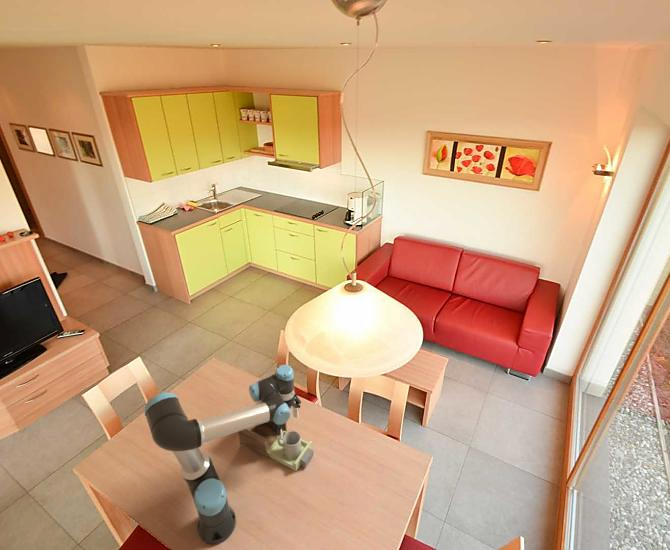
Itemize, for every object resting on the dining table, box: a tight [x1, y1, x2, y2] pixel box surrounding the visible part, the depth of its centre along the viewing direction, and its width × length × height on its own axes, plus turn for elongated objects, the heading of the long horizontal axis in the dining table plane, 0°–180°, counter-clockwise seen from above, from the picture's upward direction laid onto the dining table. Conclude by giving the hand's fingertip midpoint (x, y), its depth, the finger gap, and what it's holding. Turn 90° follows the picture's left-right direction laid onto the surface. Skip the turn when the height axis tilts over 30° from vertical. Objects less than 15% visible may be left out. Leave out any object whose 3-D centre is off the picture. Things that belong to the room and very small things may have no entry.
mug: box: [278, 430, 302, 460], centre depth 189 cm, size 12×8×11 cm
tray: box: [267, 430, 314, 472], centre depth 190 cm, size 14×20×5 cm
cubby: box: [237, 401, 288, 459], centre depth 195 cm, size 17×17×15 cm
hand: (288, 427), depth 183 cm, fingers open, 13 cm apart
